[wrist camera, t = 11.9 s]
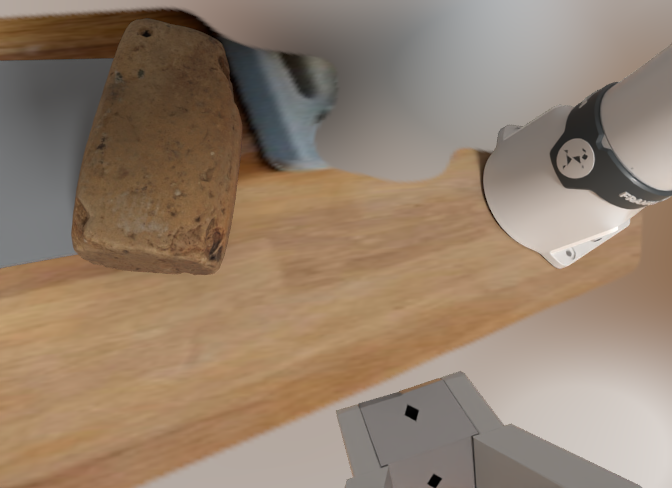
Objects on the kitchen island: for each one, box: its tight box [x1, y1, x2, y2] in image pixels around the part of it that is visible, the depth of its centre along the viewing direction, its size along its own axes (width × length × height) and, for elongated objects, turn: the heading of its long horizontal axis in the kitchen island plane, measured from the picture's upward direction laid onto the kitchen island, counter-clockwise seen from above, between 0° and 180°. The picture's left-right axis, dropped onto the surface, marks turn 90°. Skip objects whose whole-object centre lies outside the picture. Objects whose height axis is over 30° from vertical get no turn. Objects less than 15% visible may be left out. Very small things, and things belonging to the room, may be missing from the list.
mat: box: [0, 58, 114, 268], centre depth 34 cm, size 16×18×1 cm
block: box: [71, 18, 242, 275], centre depth 33 cm, size 11×8×20 cm
